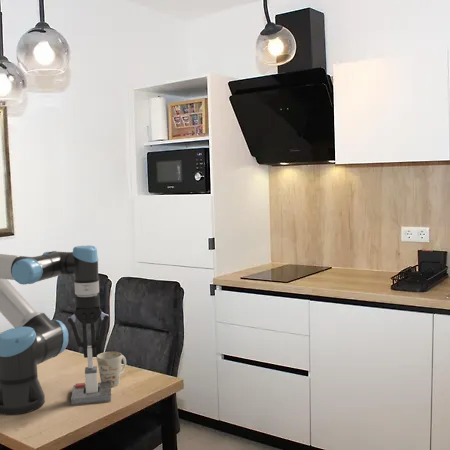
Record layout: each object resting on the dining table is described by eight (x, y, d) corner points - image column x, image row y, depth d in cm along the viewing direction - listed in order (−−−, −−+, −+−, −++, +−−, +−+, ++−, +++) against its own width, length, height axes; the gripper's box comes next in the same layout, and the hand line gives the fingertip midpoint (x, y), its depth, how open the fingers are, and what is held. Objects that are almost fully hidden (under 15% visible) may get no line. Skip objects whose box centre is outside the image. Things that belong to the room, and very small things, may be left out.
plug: (86, 398, 184) (84, 370, 184) (86, 394, 188) (85, 367, 187) (97, 397, 185) (96, 369, 184) (97, 393, 189) (96, 366, 188)
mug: (92, 386, 196) (91, 357, 195) (116, 374, 207) (115, 346, 206) (112, 389, 192) (111, 360, 191) (135, 377, 203) (134, 349, 202)
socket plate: (71, 404, 180) (71, 396, 180) (73, 391, 192) (73, 383, 191) (110, 401, 182) (110, 393, 182) (110, 387, 194) (110, 380, 194)
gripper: (65, 298, 179) (68, 372, 181) (108, 295, 182) (111, 368, 184) (66, 293, 186) (70, 365, 189) (108, 290, 189) (111, 361, 191)
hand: (90, 366), depth 186 cm, fingers closed
